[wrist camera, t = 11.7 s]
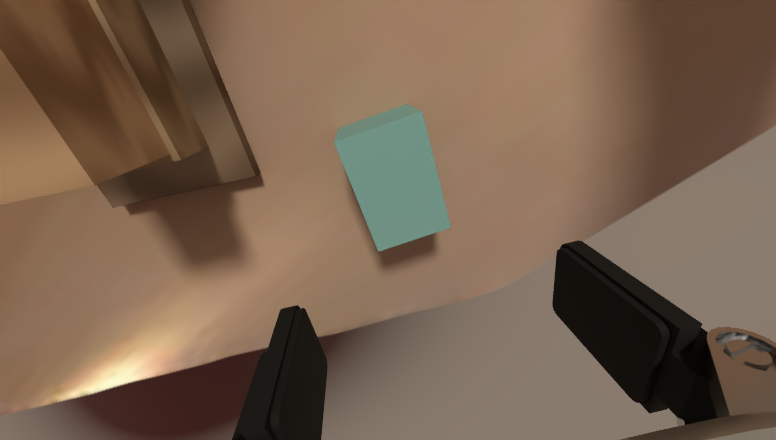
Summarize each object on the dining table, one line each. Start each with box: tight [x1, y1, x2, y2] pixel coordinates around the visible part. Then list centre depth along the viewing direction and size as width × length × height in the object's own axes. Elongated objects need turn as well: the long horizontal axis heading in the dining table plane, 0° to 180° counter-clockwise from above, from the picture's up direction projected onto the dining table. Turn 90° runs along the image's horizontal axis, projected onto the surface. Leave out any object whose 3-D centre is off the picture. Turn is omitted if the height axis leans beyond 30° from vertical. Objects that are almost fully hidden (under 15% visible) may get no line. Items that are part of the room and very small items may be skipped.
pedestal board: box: [88, 0, 260, 208], centre depth 19 cm, size 16×12×5 cm
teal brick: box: [334, 104, 451, 252], centre depth 23 cm, size 9×6×6 cm, turn 18°
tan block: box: [0, 0, 170, 205], centre depth 14 cm, size 9×6×6 cm, turn 10°
